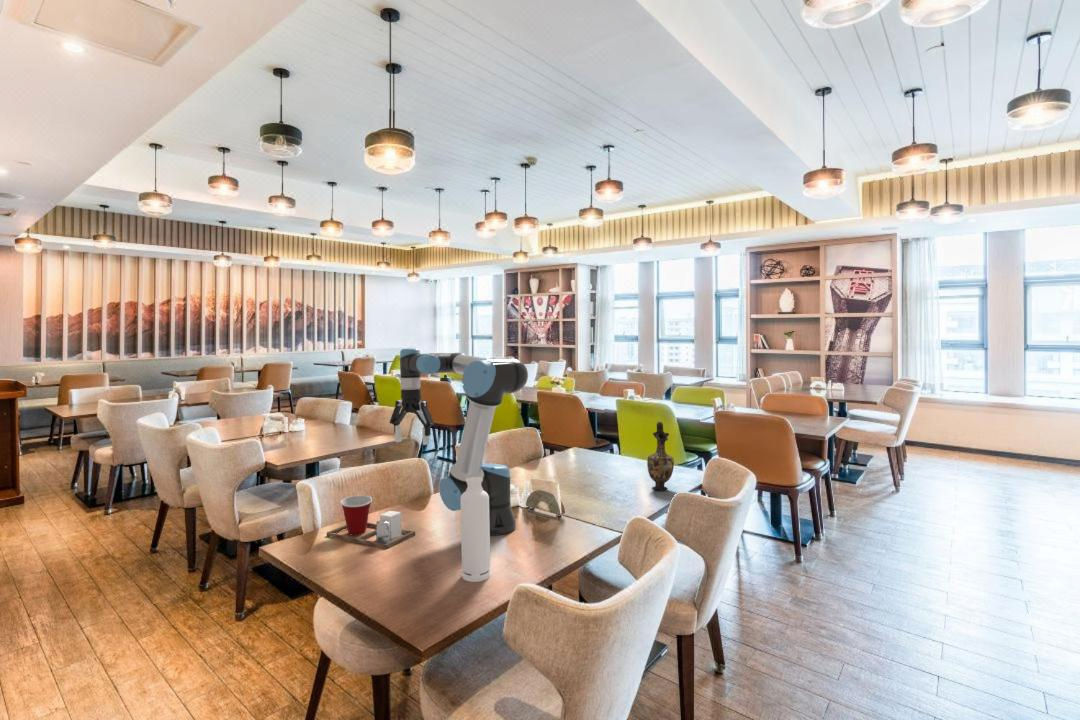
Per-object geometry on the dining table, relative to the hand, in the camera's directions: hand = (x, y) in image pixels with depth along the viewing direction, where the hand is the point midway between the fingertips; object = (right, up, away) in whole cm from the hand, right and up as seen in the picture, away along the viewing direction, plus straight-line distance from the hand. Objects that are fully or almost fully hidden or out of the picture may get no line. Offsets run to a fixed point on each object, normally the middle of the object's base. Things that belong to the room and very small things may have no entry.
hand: (412, 443), depth 204 cm
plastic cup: (-16, -30, -16) cm, 37 cm away
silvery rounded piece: (-3, -30, -26) cm, 40 cm away
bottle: (+31, -30, -53) cm, 68 cm away
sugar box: (-2, -29, -20) cm, 36 cm away
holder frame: (-10, -29, -19) cm, 36 cm away
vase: (+104, -26, +34) cm, 113 cm away
